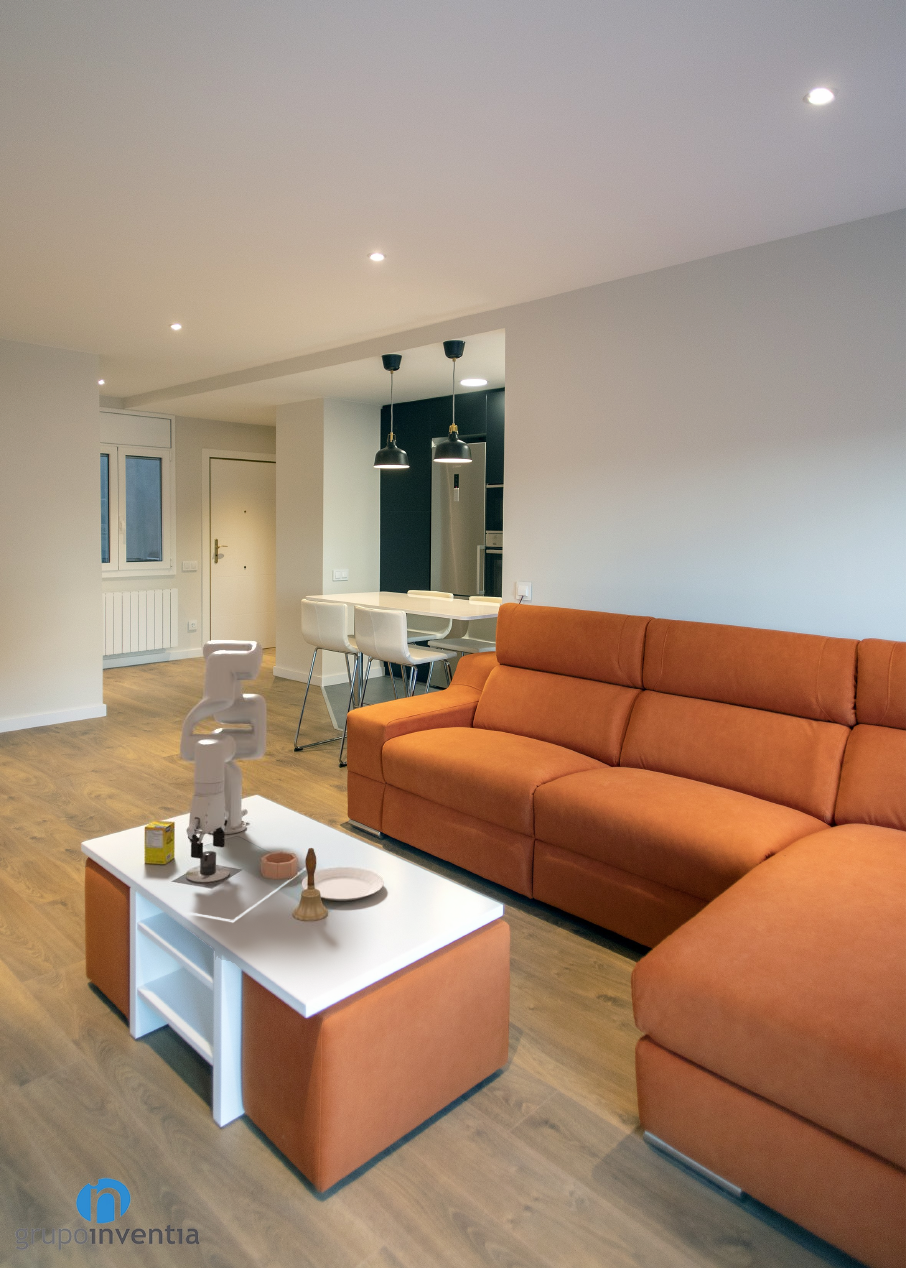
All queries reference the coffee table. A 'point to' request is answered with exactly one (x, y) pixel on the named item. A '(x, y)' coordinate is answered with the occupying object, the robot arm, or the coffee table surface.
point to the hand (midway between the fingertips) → (207, 851)
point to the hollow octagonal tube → (279, 865)
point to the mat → (208, 885)
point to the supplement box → (159, 842)
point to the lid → (207, 870)
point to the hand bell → (310, 895)
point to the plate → (345, 883)
